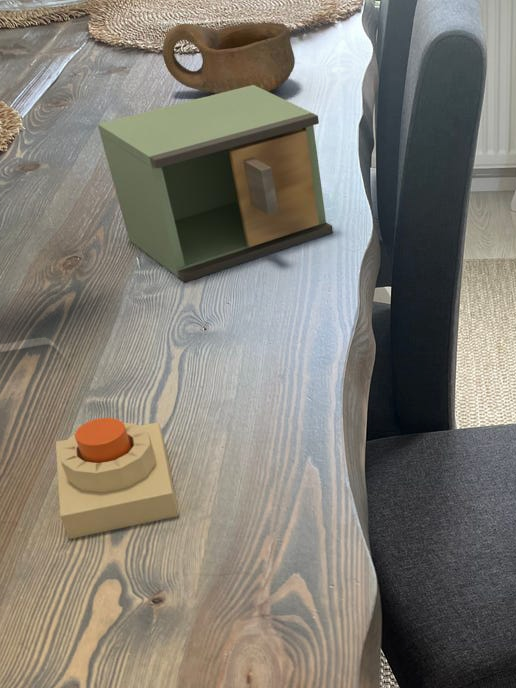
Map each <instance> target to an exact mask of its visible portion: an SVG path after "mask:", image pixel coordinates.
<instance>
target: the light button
mask: <svg viewBox="0 0 516 688" xmlns="http://www.w3.org/2000/svg"><path fill="white" fill-rule="evenodd" d="M123 423H124V422H122V421H121V420H120V419H117V418H113V417H100V418H96V419H92V420H89V421H87V422H85V423H83V424H82V425H81V426H79V427H78V428H77V429H76V431H75V433H74V434H75V439H76V441H77V444H78V447H79V450H80V452H81V455H82V457H83V459H84V460H85V461H87V462H92V463H103V462H108V461H113V460H116V459H118V458H120V457H122V456H124V455H126V454H127V453H128V452H129V451H130V449H131V444H130V441H129V438H128V434H127V431H126V428H125V425H124V424H123Z"/></svg>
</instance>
